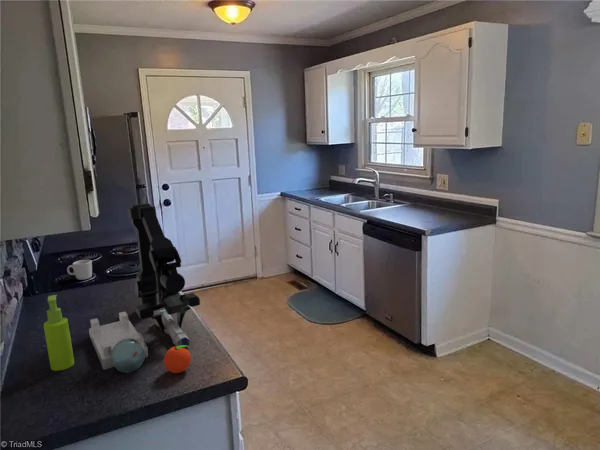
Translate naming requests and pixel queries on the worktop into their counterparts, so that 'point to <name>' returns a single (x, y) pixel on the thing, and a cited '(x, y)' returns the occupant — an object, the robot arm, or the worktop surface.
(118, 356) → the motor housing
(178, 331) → the electric toothbrush handle
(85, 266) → the cup
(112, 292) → the worktop surface
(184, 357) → the clementine
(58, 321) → the soap dispenser
